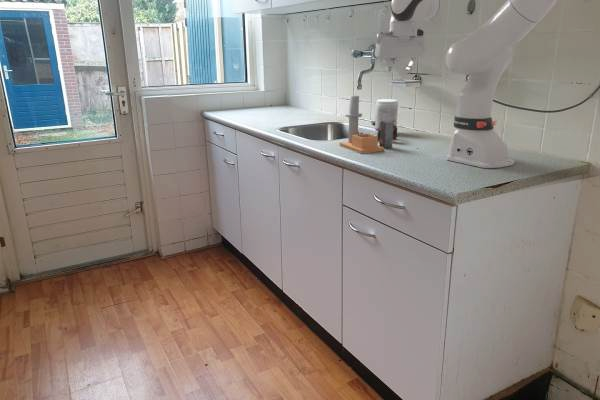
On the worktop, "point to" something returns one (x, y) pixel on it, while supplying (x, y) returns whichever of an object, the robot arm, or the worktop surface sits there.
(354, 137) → the wooden stepped base
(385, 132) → the grey upright block
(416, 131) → the worktop surface
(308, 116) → the worktop surface
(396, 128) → the pottery mug
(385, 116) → the supplement tub
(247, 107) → the worktop surface
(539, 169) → the worktop surface
